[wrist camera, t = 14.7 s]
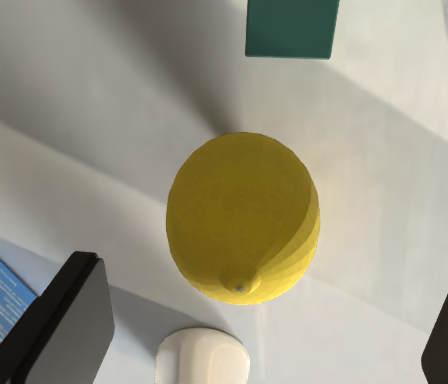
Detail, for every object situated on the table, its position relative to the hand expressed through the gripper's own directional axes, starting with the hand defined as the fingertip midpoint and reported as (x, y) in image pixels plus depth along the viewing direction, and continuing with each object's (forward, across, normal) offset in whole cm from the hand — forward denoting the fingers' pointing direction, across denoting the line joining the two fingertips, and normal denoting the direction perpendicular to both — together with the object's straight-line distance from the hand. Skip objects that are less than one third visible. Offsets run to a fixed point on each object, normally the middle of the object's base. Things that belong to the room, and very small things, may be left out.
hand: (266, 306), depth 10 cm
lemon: (+8, +1, -1) cm, 8 cm away
